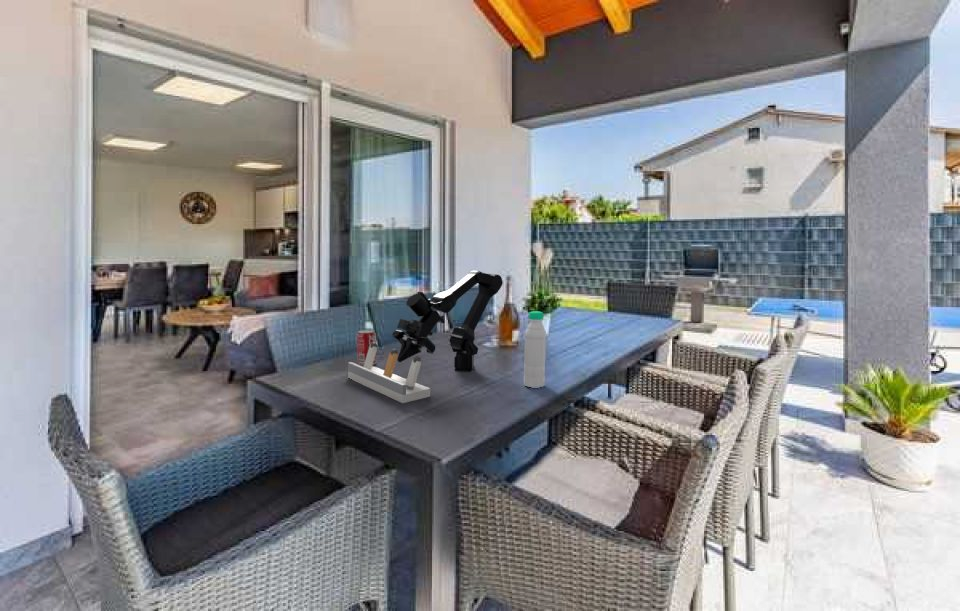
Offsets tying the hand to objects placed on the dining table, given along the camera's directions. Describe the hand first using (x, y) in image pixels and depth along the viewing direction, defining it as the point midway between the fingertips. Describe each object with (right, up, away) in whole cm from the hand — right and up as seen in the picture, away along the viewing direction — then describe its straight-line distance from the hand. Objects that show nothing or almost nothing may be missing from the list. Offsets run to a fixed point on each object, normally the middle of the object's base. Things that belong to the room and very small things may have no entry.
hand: (398, 361), depth 162 cm
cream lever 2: (+5, -6, -12) cm, 14 cm away
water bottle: (+45, -8, +1) cm, 46 cm away
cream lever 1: (-12, -3, +7) cm, 15 cm away
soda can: (-16, -4, +26) cm, 31 cm away
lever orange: (-3, -5, -2) cm, 6 cm away
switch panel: (-3, -8, -2) cm, 9 cm away
